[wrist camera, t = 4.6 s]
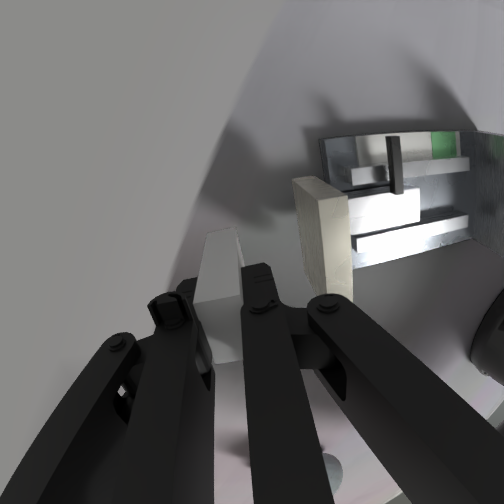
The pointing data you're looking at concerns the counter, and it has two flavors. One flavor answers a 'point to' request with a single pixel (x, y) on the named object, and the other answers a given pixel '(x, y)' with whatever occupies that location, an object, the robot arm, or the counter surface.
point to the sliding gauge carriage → (348, 221)
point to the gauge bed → (425, 188)
